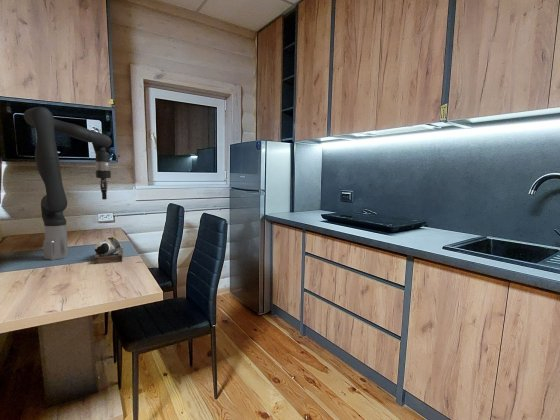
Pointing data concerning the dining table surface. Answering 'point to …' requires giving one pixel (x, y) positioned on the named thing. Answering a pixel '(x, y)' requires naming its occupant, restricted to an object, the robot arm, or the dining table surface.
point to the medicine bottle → (108, 246)
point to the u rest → (109, 258)
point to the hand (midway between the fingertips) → (104, 199)
